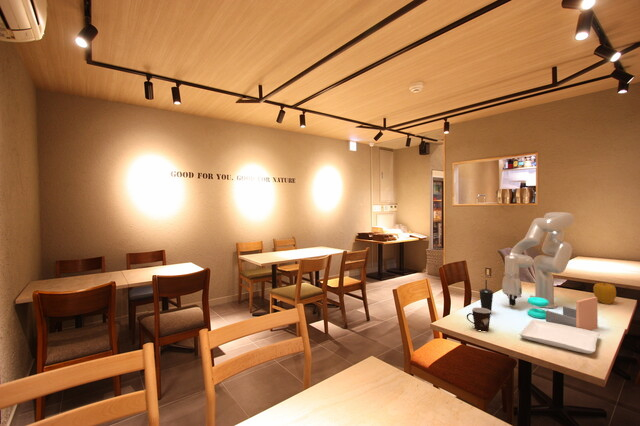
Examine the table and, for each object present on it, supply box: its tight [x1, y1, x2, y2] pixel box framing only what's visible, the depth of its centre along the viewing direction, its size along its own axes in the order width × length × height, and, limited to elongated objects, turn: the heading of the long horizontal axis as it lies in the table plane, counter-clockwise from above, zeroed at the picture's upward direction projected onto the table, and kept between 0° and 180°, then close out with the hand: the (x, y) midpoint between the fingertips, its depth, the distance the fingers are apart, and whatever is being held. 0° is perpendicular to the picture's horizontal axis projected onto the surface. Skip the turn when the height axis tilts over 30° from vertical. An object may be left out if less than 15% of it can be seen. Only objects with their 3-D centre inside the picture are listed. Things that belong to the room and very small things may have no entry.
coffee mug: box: [466, 307, 492, 332], centre depth 161 cm, size 12×9×10 cm
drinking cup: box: [478, 279, 494, 312], centre depth 183 cm, size 8×8×20 cm
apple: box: [592, 282, 617, 305], centre depth 198 cm, size 11×11×13 cm
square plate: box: [519, 319, 601, 354], centre depth 147 cm, size 27×27×4 cm
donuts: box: [527, 296, 549, 320], centre depth 178 cm, size 10×10×10 cm
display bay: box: [545, 296, 599, 331], centre depth 162 cm, size 15×16×16 cm
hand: (512, 305), depth 192 cm, fingers closed
